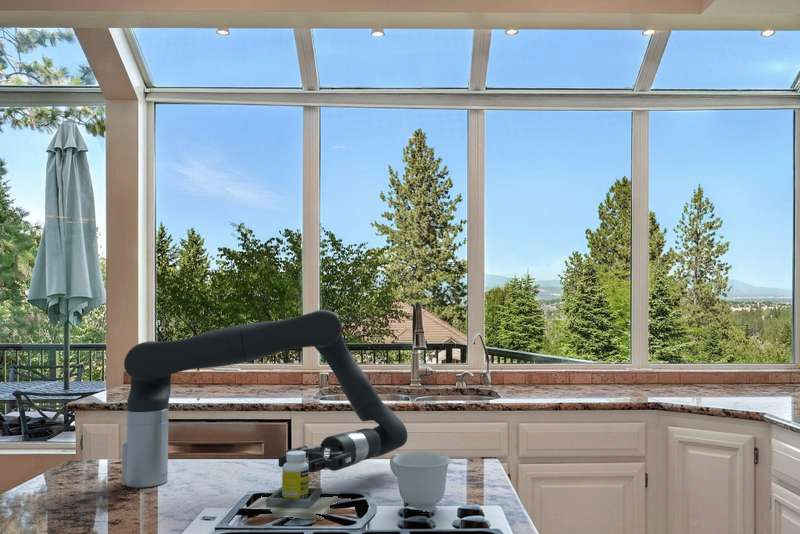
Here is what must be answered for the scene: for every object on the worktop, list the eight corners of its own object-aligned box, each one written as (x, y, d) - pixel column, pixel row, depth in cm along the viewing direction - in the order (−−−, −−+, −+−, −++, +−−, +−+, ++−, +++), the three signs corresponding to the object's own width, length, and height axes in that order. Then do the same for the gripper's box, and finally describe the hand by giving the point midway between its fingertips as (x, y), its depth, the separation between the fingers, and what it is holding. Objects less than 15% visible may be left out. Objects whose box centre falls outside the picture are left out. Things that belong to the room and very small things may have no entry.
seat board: (244, 516, 124) (244, 502, 125) (270, 495, 138) (270, 482, 138) (322, 519, 122) (322, 505, 122) (341, 498, 136) (341, 485, 136)
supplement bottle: (303, 505, 127) (303, 456, 128) (277, 503, 128) (278, 454, 129) (312, 497, 132) (312, 450, 133) (287, 496, 133) (288, 449, 134)
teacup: (411, 493, 138) (411, 447, 139) (464, 508, 128) (463, 458, 129) (370, 506, 130) (370, 456, 131) (423, 523, 119) (422, 469, 120)
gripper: (321, 430, 148) (270, 442, 135) (369, 436, 140) (320, 450, 127) (321, 462, 148) (270, 478, 134) (369, 470, 140) (320, 488, 126)
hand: (294, 464), depth 130 cm, fingers open, 8 cm apart
